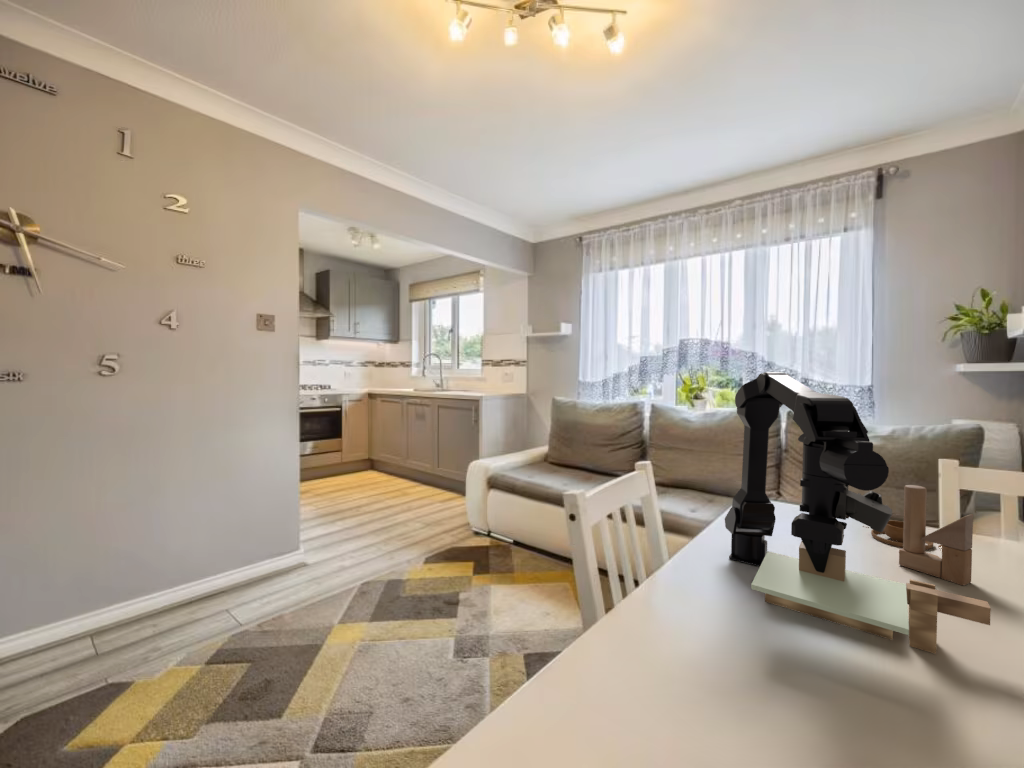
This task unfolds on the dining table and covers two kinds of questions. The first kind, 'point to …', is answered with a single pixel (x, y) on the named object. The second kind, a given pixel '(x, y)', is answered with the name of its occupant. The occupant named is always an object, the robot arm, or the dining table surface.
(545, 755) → the dining table surface
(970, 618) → the wooden plank
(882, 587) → the lid
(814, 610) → the tan wooden box
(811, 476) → the robot arm
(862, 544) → the dining table surface
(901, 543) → the place setting
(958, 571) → the wooden block structure
